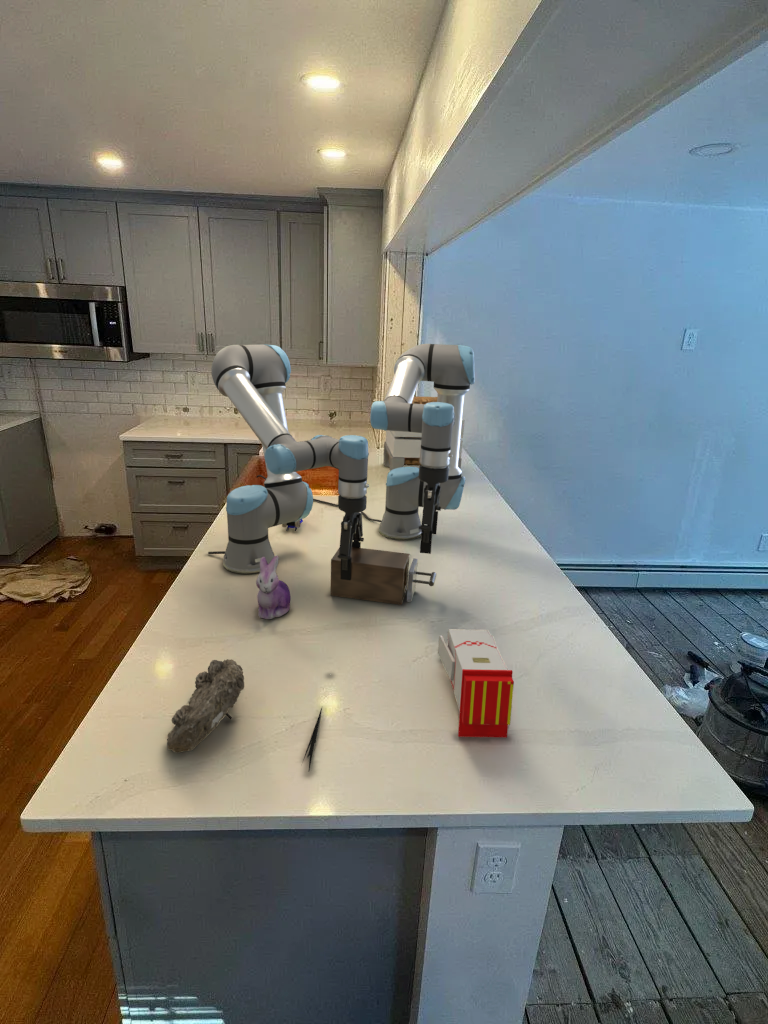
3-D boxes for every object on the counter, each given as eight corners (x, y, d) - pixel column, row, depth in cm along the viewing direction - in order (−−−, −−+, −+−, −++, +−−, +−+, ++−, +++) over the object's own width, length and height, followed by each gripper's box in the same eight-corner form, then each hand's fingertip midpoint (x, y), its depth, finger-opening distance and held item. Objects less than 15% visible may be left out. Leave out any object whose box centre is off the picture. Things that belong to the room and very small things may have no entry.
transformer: (382, 463, 289) (386, 382, 275) (445, 464, 293) (451, 384, 279) (390, 482, 257) (394, 392, 243) (460, 483, 261) (468, 394, 247)
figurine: (261, 624, 140) (259, 569, 134) (250, 605, 148) (248, 552, 143) (298, 616, 144) (297, 562, 139) (285, 598, 152) (284, 547, 147)
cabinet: (407, 588, 161) (409, 553, 158) (401, 605, 152) (403, 568, 148) (340, 579, 165) (340, 545, 161) (330, 595, 155) (331, 559, 152)
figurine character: (300, 537, 196) (305, 517, 210) (300, 518, 193) (305, 499, 206) (281, 536, 196) (287, 517, 209) (280, 517, 193) (286, 498, 206)
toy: (488, 613, 130) (523, 677, 101) (484, 667, 133) (517, 744, 104) (435, 612, 130) (455, 676, 101) (432, 666, 133) (451, 743, 103)
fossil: (192, 660, 117) (244, 628, 112) (224, 691, 120) (276, 661, 115) (142, 746, 98) (202, 712, 93) (182, 779, 101) (242, 748, 96)
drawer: (435, 590, 159) (437, 561, 156) (431, 604, 151) (434, 574, 148) (351, 579, 163) (352, 550, 160) (343, 593, 155) (344, 563, 152)
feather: (331, 679, 122) (336, 673, 122) (307, 777, 96) (313, 769, 95) (324, 675, 122) (329, 669, 121) (298, 772, 95) (304, 764, 95)
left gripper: (356, 510, 139) (353, 591, 146) (375, 484, 160) (372, 556, 167) (326, 506, 140) (325, 587, 147) (349, 481, 161) (347, 553, 168)
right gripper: (444, 480, 131) (437, 563, 138) (453, 455, 154) (446, 527, 161) (412, 476, 132) (407, 560, 139) (425, 452, 155) (420, 524, 162)
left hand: (350, 570), depth 157 cm, fingers closed on cabinet, 10 cm apart
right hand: (428, 542), depth 150 cm, fingers open, 13 cm apart
